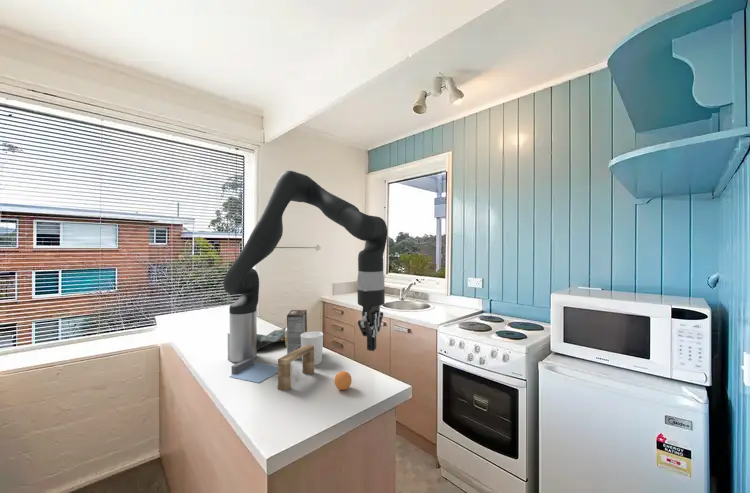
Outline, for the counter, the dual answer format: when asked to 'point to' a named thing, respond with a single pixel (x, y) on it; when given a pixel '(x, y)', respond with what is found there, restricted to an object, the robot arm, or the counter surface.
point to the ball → (343, 380)
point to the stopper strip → (242, 365)
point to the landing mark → (256, 373)
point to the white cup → (315, 340)
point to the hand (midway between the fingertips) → (371, 349)
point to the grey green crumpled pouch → (270, 338)
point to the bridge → (285, 365)
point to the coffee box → (295, 329)
